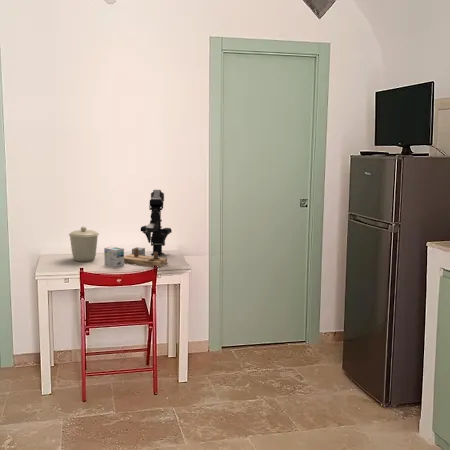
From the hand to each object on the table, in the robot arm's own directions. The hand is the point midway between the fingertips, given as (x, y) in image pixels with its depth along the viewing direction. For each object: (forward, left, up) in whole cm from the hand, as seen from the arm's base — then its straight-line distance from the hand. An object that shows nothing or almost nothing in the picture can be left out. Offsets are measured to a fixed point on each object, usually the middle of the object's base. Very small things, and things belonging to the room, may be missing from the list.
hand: (156, 243), depth 362 cm
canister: (+12, -44, -13) cm, 47 cm away
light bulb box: (+15, -20, -13) cm, 28 cm away
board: (+2, -7, -12) cm, 15 cm away
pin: (0, 0, -12) cm, 13 cm away
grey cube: (-8, -17, -12) cm, 22 cm away
